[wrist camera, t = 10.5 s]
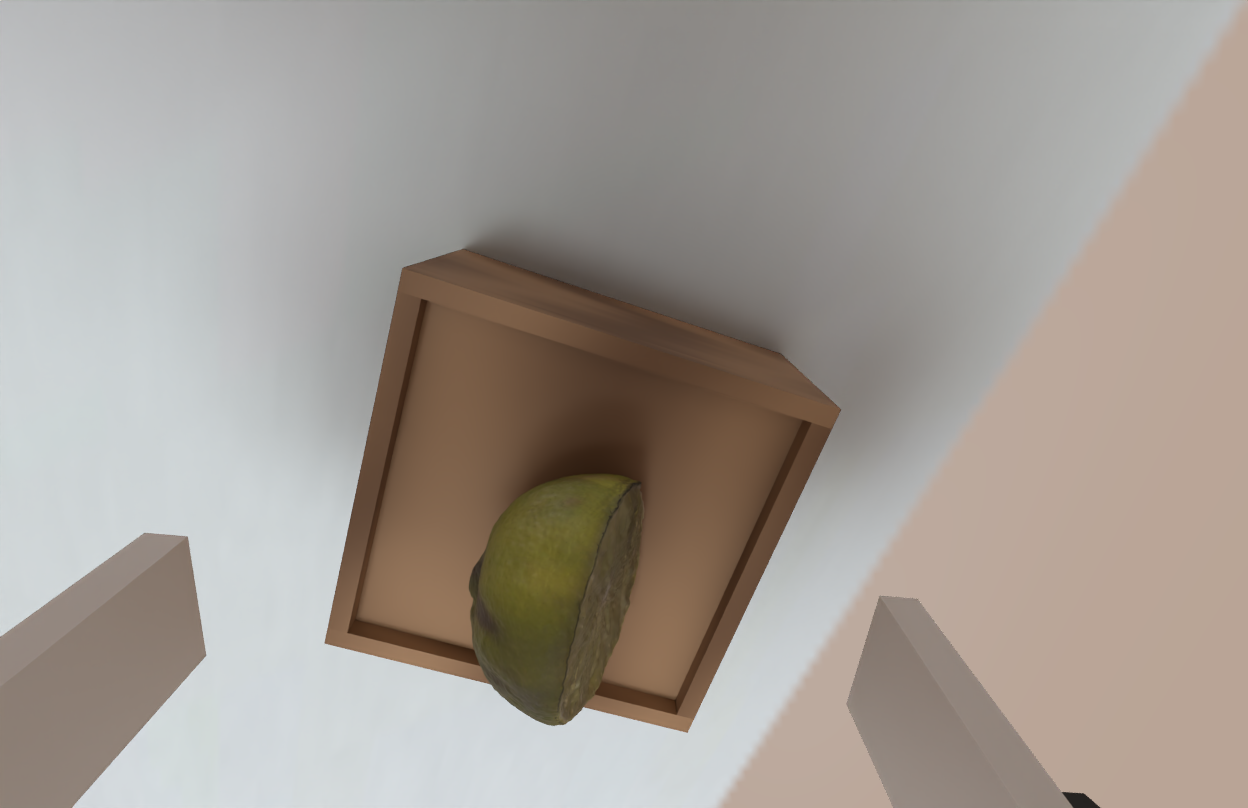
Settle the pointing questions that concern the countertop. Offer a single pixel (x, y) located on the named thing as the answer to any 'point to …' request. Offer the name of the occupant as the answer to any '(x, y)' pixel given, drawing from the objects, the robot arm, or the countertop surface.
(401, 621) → the walnut tray
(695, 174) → the countertop surface
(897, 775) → the robot arm
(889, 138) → the countertop surface
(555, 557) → the lime
